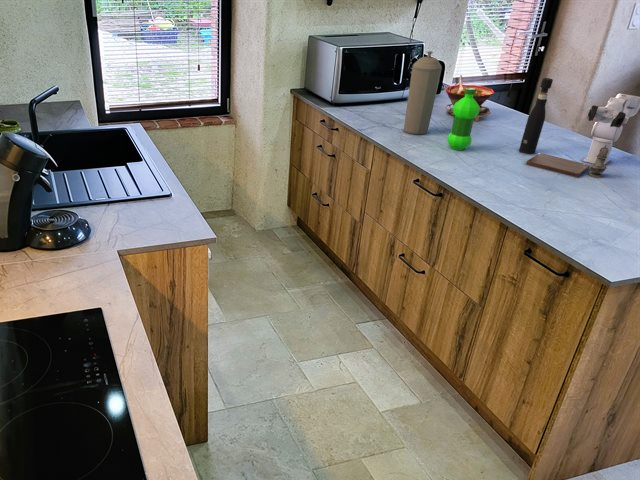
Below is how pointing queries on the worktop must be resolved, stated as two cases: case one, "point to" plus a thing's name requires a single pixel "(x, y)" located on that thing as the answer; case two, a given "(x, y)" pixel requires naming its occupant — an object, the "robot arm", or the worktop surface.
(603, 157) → the grey stone baluster
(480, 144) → the worktop surface
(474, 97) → the stew
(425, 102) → the canister
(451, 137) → the plastic bottle
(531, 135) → the black bottle
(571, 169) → the cutting board
